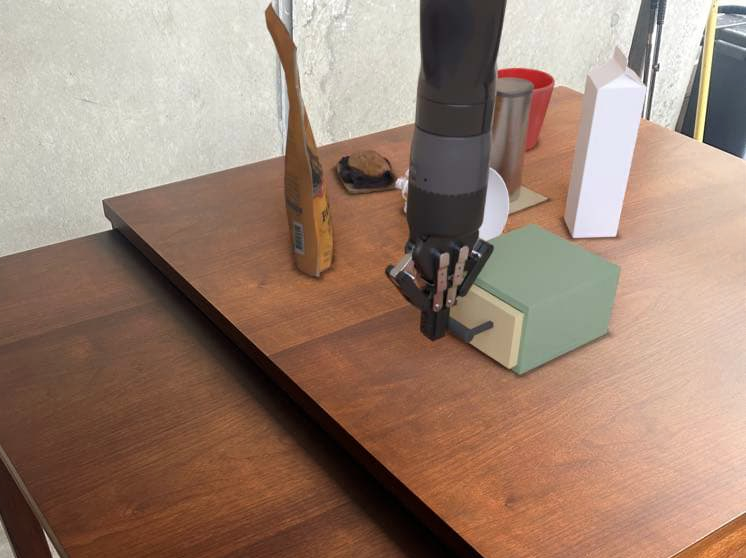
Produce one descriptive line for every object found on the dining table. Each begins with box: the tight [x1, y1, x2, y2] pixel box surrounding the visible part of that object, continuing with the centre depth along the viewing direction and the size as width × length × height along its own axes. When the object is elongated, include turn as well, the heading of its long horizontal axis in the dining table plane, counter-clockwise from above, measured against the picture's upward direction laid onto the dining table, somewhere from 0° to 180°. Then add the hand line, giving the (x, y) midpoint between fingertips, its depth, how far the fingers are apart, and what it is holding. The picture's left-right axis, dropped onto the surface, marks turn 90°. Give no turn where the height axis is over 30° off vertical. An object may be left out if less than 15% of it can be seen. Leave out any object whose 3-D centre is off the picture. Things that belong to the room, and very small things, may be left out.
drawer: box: [446, 276, 524, 370], centre depth 97 cm, size 17×13×6 cm
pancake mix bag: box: [264, 1, 334, 278], centre depth 107 cm, size 7×19×28 cm, turn 4°
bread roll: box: [335, 149, 397, 195], centre depth 132 cm, size 11×8×4 cm
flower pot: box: [498, 67, 556, 151], centre depth 138 cm, size 11×11×10 cm
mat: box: [508, 185, 549, 215], centre depth 127 cm, size 10×10×1 cm
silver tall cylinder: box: [490, 77, 534, 203], centre depth 121 cm, size 6×6×15 cm
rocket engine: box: [395, 168, 509, 241], centre depth 118 cm, size 12×12×18 cm
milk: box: [563, 44, 648, 239], centre depth 111 cm, size 6×6×22 cm
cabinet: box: [463, 222, 622, 376], centre depth 99 cm, size 14×14×8 cm
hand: (433, 336), depth 93 cm, fingers closed
